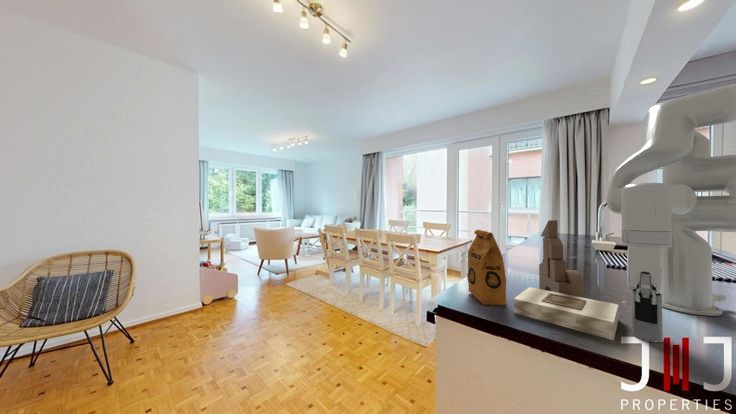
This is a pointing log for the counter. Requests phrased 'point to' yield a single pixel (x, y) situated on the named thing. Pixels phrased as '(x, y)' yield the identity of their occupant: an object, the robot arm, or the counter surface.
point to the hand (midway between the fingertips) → (645, 315)
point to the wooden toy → (557, 265)
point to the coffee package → (486, 270)
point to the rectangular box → (569, 311)
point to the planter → (647, 329)
